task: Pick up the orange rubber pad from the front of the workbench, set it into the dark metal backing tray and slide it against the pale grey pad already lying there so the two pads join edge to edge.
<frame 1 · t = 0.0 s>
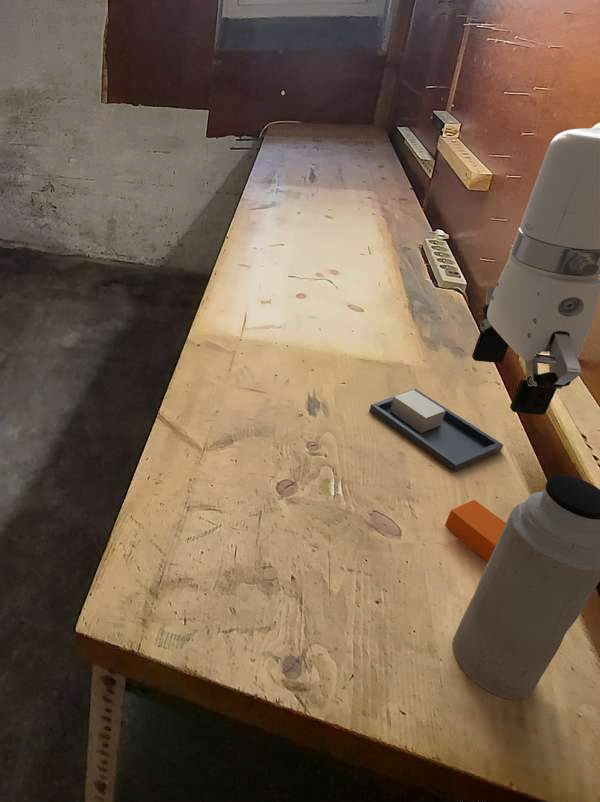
hand: (505, 384, 66), 30 cm above the table, tool pointing down, fingers open, 9 cm apart
orange pad: (477, 538, 81), on the table
grey pad: (414, 418, 104), resting on backing tray
thermos bottle: (491, 663, 67), on the table
backing tray: (431, 432, 101), on the table
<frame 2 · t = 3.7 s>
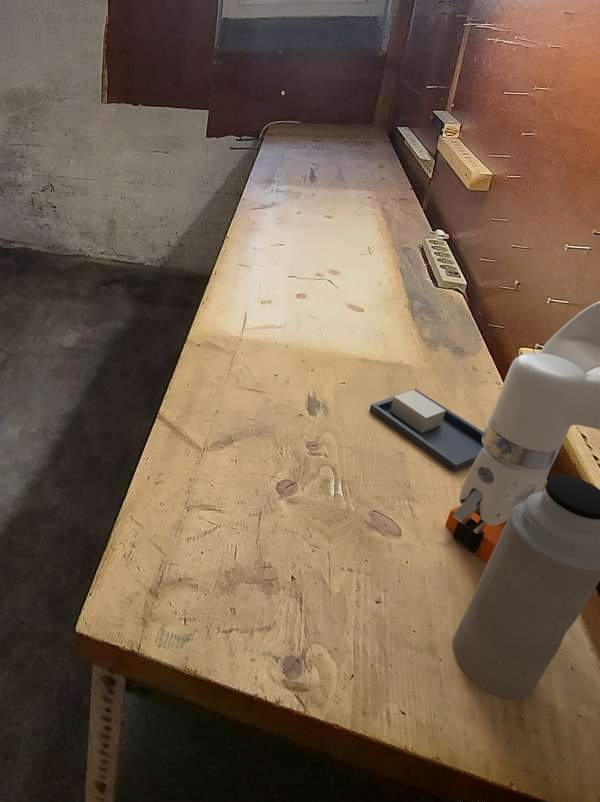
hand: (478, 536, 81), 0 cm above the table, tool pointing down, fingers closed on orange pad, 5 cm apart
orange pad: (477, 538, 81), on the table, touching gripper
everything else where it was.
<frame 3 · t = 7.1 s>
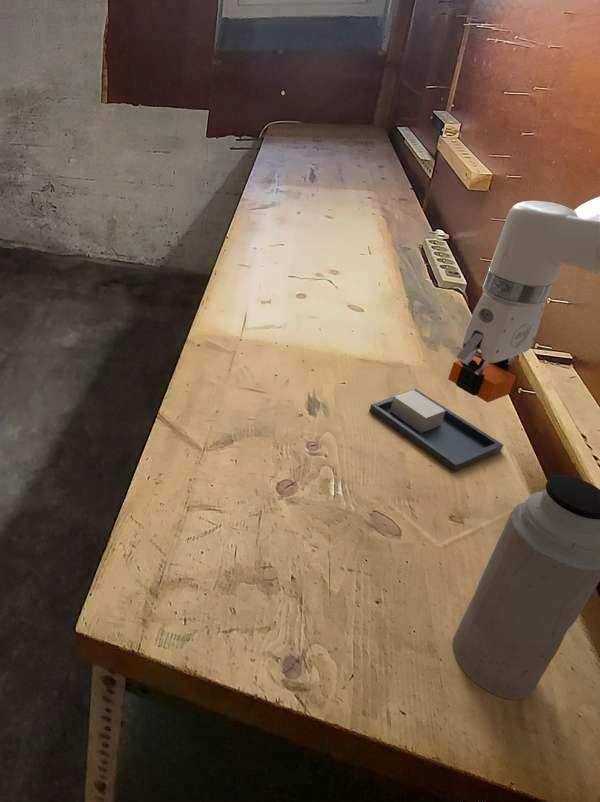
hand: (478, 384, 90), 15 cm above the table, tool pointing down, fingers closed on orange pad, 5 cm apart
orange pad: (477, 386, 90), point 14 cm above the table, touching gripper
everything else where it was.
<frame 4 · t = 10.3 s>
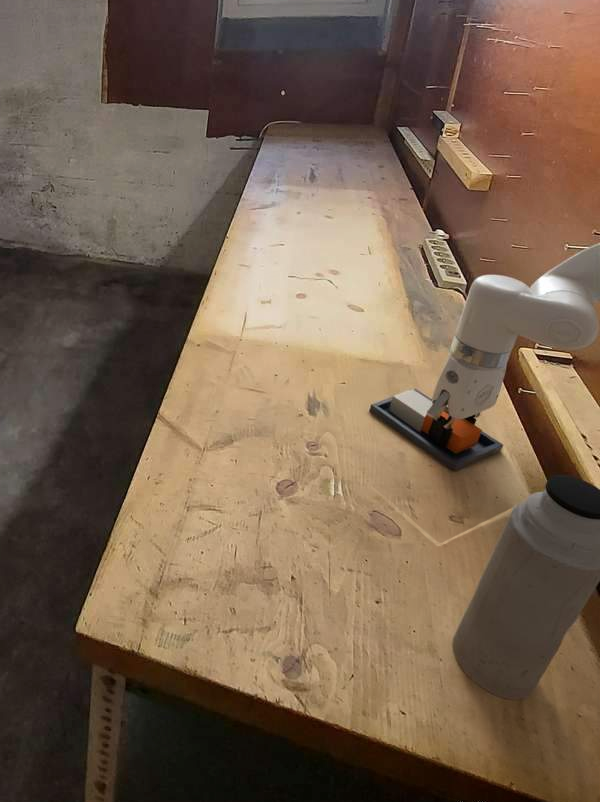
hand: (448, 435, 98), 2 cm above the table, tool pointing down, fingers closed on orange pad, 4 cm apart
orange pad: (447, 437, 98), point 1 cm above the table, touching grey pad, gripper
grey pad: (413, 417, 104), resting on backing tray, touching orange pad
everything else where it was.
when the fingers open (2 cm above the table, at t = 10.6 s): orange pad stays where it is, resting on backing tray.
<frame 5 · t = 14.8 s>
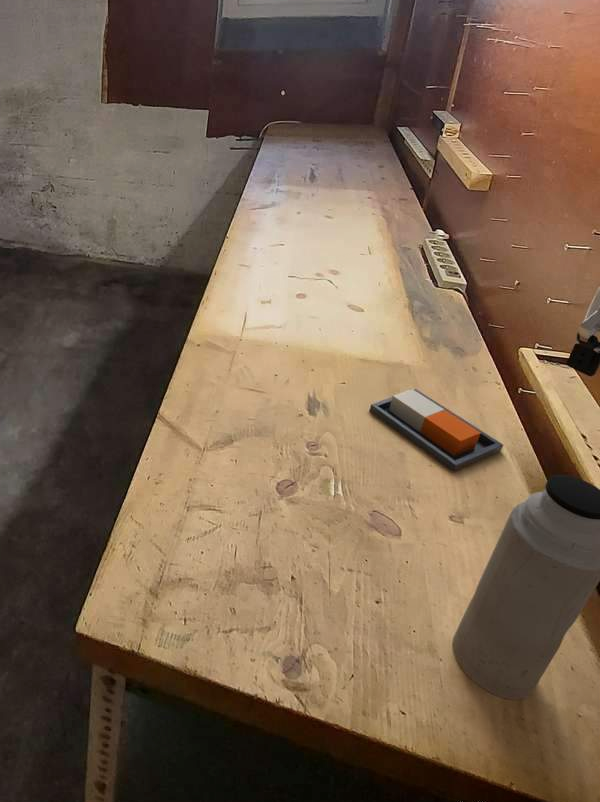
orange pad: (446, 440, 98), resting on backing tray
grey pad: (413, 417, 104), resting on backing tray
everything else where it was.
at the end: orange pad inside the target area in the backing tray (2.8 cm from its centre), point 0.5 cm above the backing tray's base; orange pad 6.5 cm from the grey pad (horizontally) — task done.
